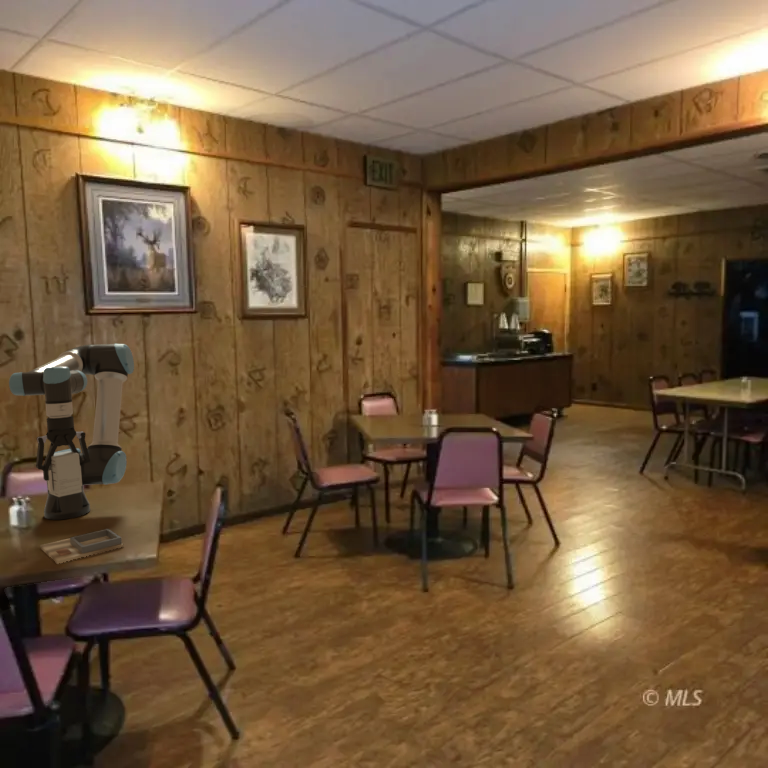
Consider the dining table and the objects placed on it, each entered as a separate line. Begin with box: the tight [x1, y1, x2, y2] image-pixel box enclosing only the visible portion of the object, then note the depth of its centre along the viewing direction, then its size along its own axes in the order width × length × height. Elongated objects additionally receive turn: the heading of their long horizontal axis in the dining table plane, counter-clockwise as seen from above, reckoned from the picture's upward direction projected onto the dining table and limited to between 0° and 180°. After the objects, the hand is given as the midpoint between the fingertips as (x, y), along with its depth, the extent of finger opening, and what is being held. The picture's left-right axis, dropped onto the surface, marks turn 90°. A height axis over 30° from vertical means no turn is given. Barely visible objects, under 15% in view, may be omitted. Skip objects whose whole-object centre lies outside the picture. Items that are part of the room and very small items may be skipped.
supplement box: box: [45, 451, 82, 497], centre depth 204 cm, size 7×7×13 cm
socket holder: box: [70, 528, 123, 554], centre depth 201 cm, size 12×12×2 cm
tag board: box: [39, 536, 124, 565], centre depth 201 cm, size 18×19×1 cm
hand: (65, 487), depth 204 cm, fingers closed on supplement box, 8 cm apart
